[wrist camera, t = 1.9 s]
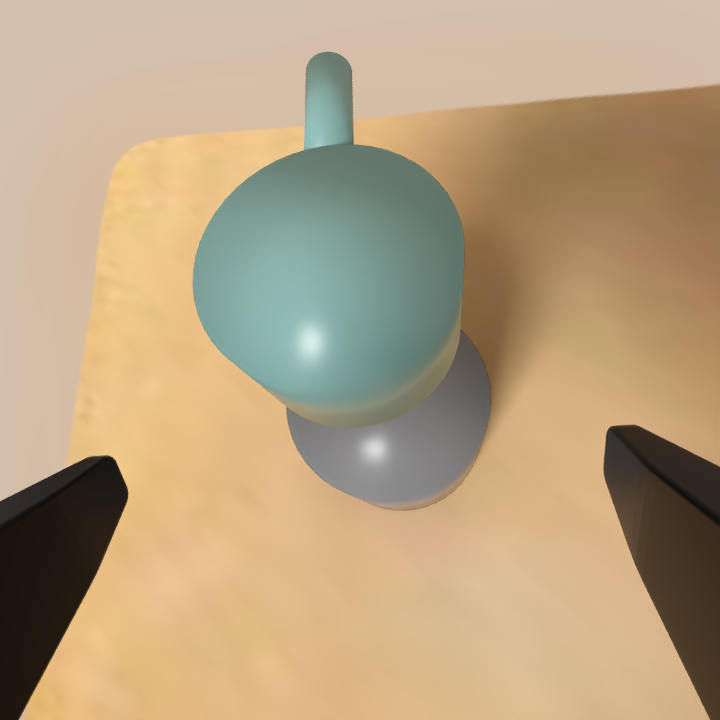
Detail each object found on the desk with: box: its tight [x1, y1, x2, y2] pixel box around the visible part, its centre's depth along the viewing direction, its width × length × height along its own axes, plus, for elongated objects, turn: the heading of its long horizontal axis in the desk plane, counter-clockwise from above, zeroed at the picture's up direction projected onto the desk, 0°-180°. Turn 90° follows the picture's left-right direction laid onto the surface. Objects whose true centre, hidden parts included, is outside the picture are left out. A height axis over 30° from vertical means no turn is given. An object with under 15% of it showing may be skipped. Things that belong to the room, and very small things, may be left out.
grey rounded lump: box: [286, 329, 491, 511], centre depth 19 cm, size 7×7×6 cm
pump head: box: [193, 52, 465, 428], centre depth 11 cm, size 7×5×5 cm, turn 2°
